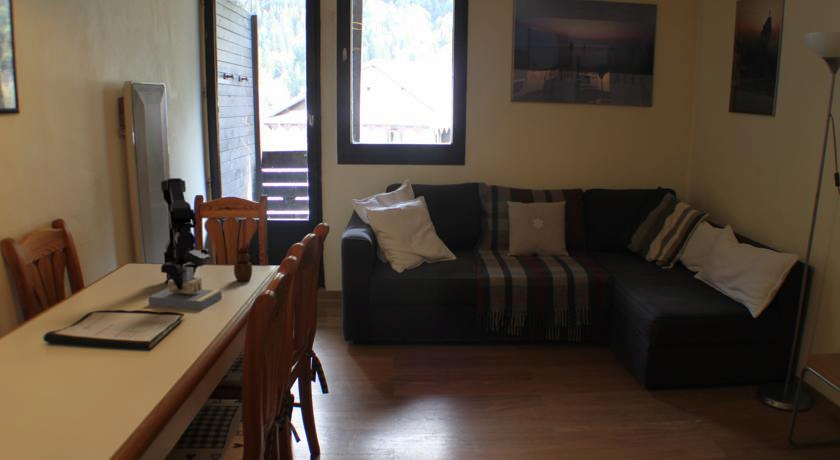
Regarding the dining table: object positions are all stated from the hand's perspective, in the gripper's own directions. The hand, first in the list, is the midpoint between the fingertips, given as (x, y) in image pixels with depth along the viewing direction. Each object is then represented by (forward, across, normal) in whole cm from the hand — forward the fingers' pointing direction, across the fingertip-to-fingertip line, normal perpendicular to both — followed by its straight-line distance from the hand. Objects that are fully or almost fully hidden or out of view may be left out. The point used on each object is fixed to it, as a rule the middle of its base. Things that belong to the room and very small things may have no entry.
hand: (185, 287), depth 236 cm
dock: (+5, 0, 0) cm, 5 cm away
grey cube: (-3, 0, 0) cm, 3 cm away
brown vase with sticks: (+6, +31, -6) cm, 32 cm away
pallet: (+1, 0, 0) cm, 1 cm away
